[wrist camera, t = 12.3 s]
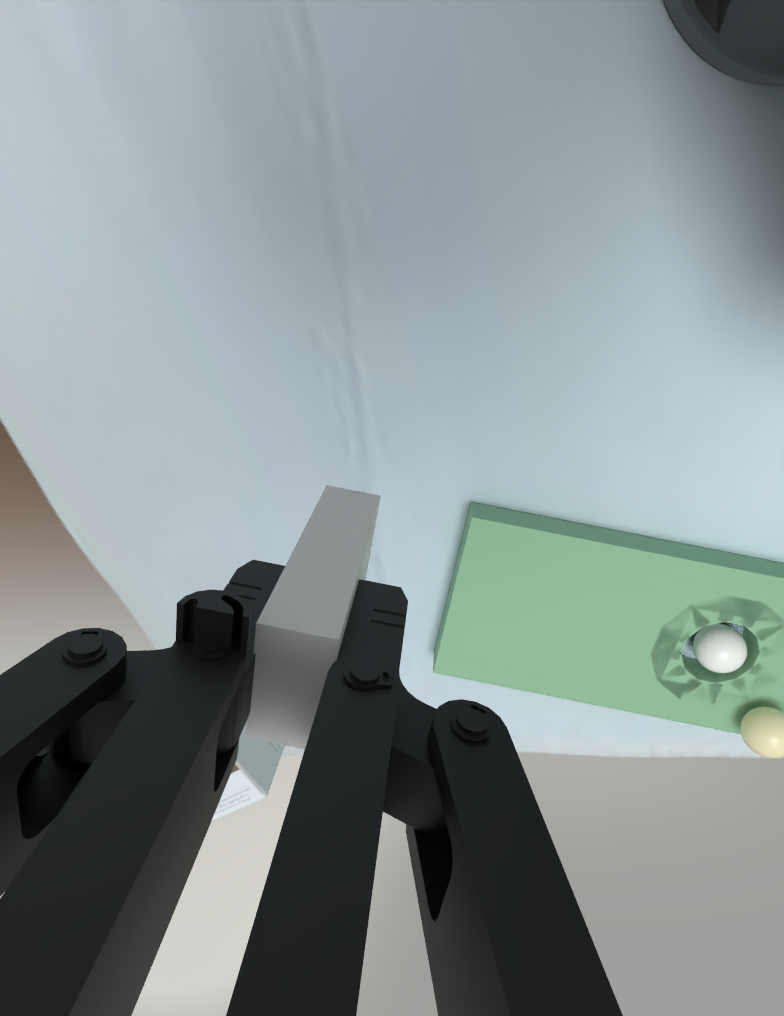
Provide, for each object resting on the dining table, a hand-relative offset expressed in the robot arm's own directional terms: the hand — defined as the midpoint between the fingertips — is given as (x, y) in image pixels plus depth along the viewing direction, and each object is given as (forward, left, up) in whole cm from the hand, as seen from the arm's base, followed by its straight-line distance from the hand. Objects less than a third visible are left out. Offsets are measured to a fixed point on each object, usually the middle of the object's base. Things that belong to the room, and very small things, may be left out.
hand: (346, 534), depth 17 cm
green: (+15, +19, -24) cm, 34 cm away
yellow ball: (+20, +30, -20) cm, 41 cm away
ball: (+15, +25, -23) cm, 37 cm away
